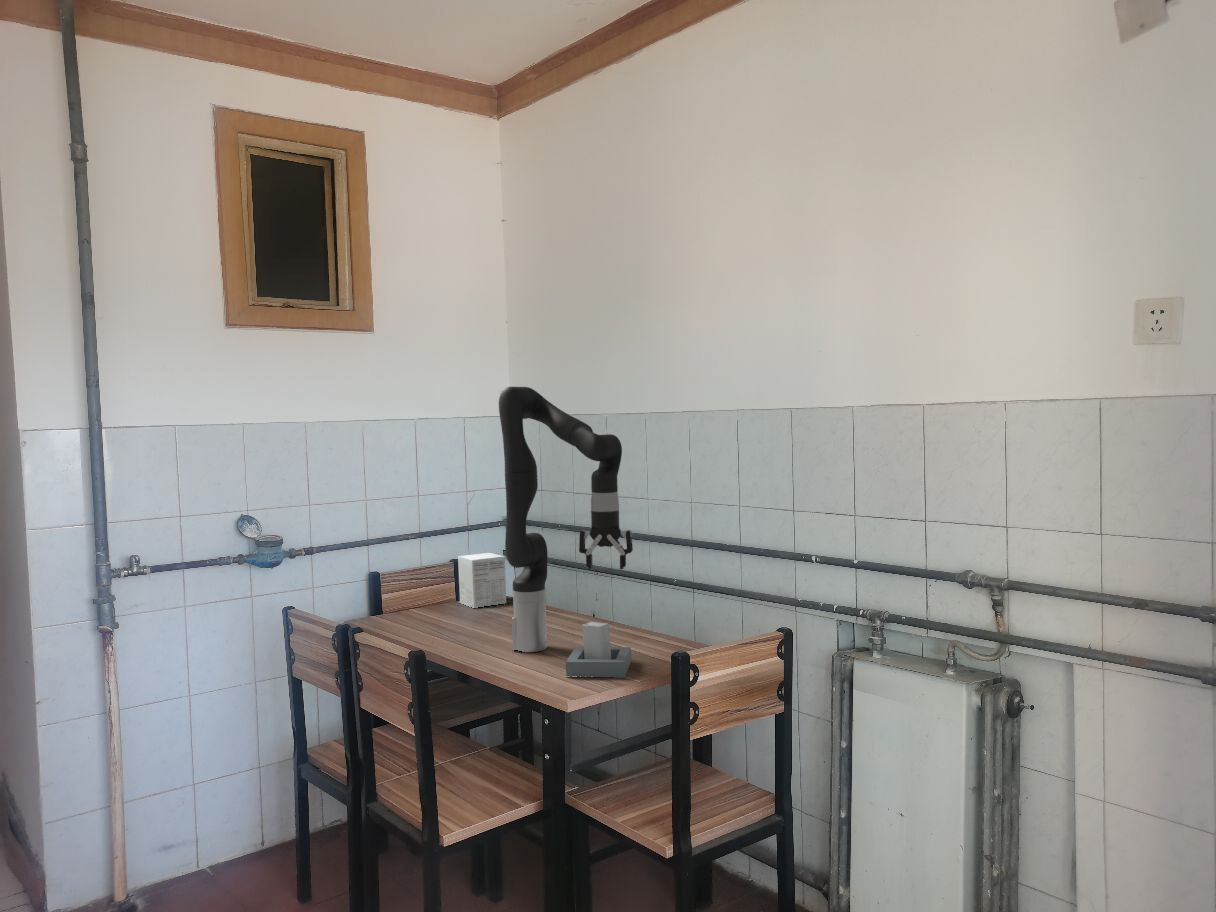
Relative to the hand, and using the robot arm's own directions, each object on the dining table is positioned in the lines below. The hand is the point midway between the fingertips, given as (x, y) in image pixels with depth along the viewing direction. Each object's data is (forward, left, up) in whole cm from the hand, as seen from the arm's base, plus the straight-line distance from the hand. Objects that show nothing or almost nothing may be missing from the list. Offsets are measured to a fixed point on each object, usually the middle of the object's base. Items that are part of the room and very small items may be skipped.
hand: (606, 568), depth 244 cm
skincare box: (-2, -8, -25) cm, 27 cm away
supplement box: (-56, +77, -25) cm, 98 cm away
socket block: (-1, -8, -25) cm, 26 cm away
